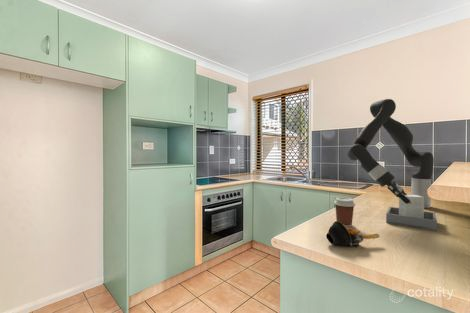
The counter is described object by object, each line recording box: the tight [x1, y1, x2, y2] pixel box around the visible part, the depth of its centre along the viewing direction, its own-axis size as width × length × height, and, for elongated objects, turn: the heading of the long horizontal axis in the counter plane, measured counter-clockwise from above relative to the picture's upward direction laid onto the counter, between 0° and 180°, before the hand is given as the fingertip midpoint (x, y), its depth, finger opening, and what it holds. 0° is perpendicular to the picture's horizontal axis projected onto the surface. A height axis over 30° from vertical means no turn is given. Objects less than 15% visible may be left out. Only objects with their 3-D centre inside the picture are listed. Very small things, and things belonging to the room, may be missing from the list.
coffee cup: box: [333, 197, 356, 228], centre depth 105 cm, size 9×9×12 cm
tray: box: [385, 206, 438, 232], centre depth 108 cm, size 16×18×4 cm
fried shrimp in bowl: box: [325, 220, 380, 247], centre depth 84 cm, size 9×11×18 cm
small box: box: [398, 194, 425, 218], centre depth 108 cm, size 8×6×10 cm
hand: (408, 201), depth 108 cm, fingers closed on small box, 8 cm apart
